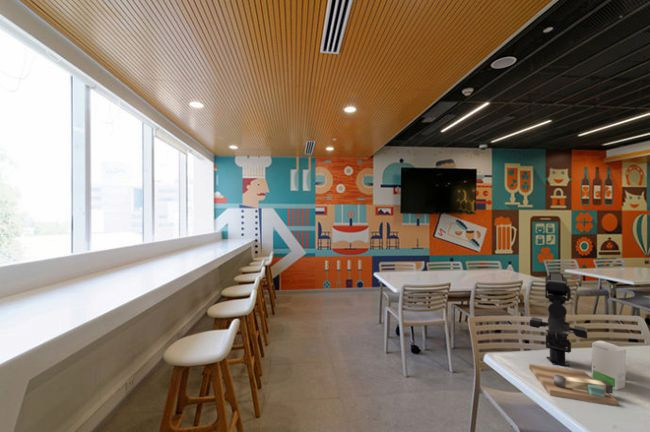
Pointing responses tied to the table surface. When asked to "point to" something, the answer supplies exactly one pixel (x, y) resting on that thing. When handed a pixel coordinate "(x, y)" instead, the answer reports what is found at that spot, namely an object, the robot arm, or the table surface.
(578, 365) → the table surface
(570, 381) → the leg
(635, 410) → the table surface
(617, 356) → the skincare box
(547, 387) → the tan wooden flat tray
